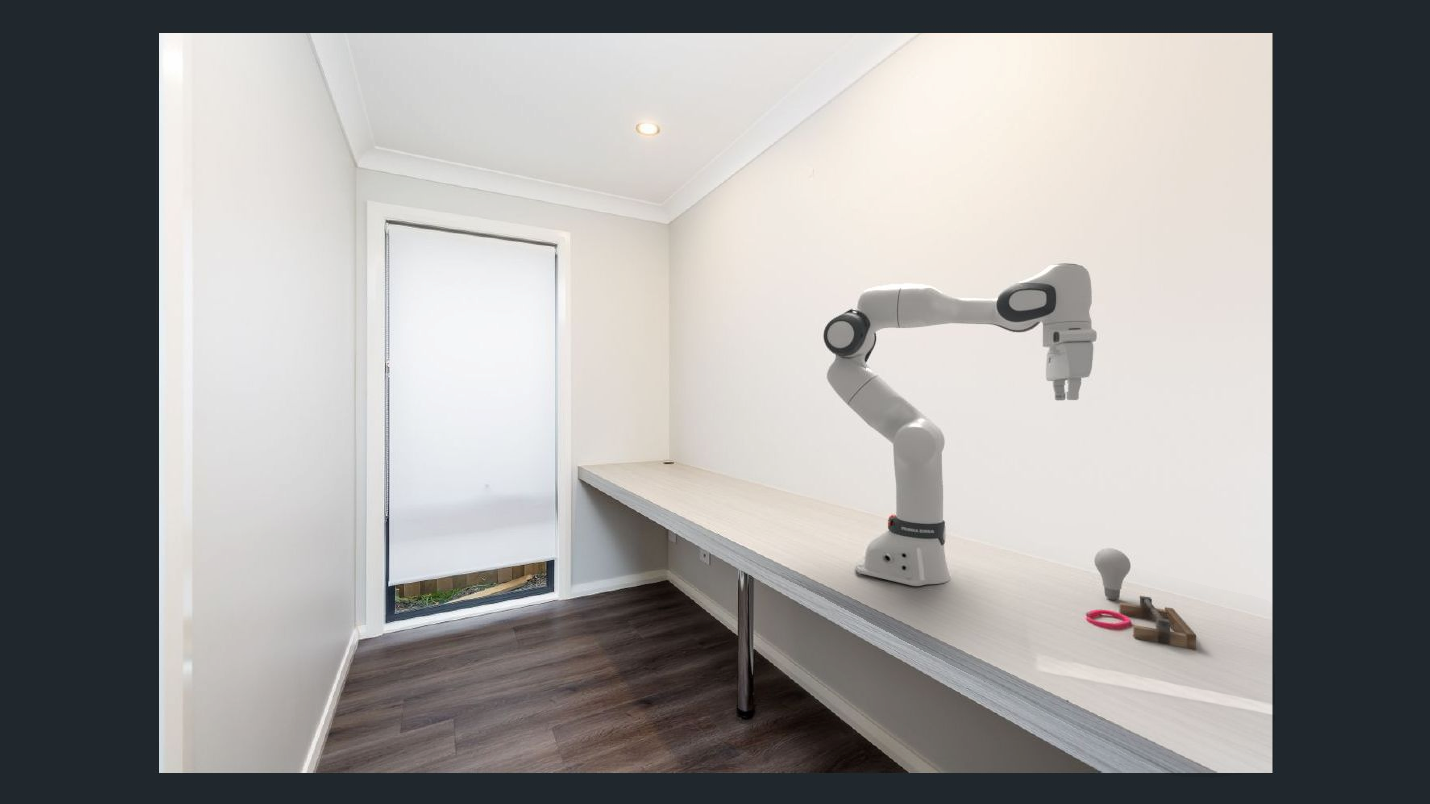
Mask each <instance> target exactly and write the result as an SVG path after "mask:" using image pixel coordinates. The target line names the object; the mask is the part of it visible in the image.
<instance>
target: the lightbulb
mask: <svg viewBox="0 0 1430 804" xmlns="http://www.w3.org/2000/svg"><path fill="white" fill-rule="evenodd" d="M1129 559H1130V558H1129V557H1128V556H1127V555H1126V554H1125V553H1124V552H1122V551H1121V550H1118V549H1116V548H1111V547H1107V548H1106V547H1105V548H1103V549H1101V550H1099V551H1098V552H1096V554H1095V556H1094V559H1093V560H1094V561H1093V562H1094V566H1095V567H1096V570H1097V571H1098V573H1100V577H1101V580H1102V585H1103V587H1104V588H1103V589H1104V596H1105V597H1107V598H1108V599H1109V600H1110V601H1116V600H1118V599H1120V597H1121V590H1122V586H1123V582H1124V579H1125V578H1126V577H1127V575H1129V572H1130V570H1131V562H1130V561H1131V560H1129Z"/></svg>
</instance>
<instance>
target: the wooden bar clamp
mask: <svg viewBox="0 0 1430 804" xmlns="http://www.w3.org/2000/svg"><path fill="white" fill-rule="evenodd" d="M1152 602H1153V601H1152V598H1151V597H1149V596H1144V595H1139V605H1137V604H1131V603H1124V602H1119V604H1118V605H1119V611H1118V613H1120V614H1123V615H1125V616H1127V617H1132V618H1139V619H1144V620H1152V621H1155V623H1156V624H1155V627H1154V628H1153V627H1149V626H1143V625H1138V624H1137V625H1136V624H1132V625H1133V626H1132V627H1133V629H1132V630H1133V631H1132V632H1133V633H1132V635H1133V638H1134V639H1135V640H1142V641H1147V642H1152V643H1158V644H1164V645H1168V646H1175V647H1179V648H1185V649H1189V650H1194V651H1195V650H1197V635H1196V633H1195V632H1194V631H1193V629H1191V628H1190V626H1189V625H1188V624H1187V622H1186V621H1185V620H1184V619H1183V618H1182V617H1181V616H1180V615H1179V614H1178V613H1177V612H1176V610H1175V609H1174V608H1172V607H1167V606H1164V609H1163V608H1158V607H1155V606H1154V604H1153V603H1152ZM1171 630H1172V631H1171Z"/></svg>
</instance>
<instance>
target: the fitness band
mask: <svg viewBox="0 0 1430 804" xmlns="http://www.w3.org/2000/svg"><path fill="white" fill-rule="evenodd" d="M1103 615H1108V616H1111V617H1114V618H1117V619H1119V620H1120V622H1115V623H1113V622H1105V621H1099V620H1095V619H1096V618H1099V617H1102V616H1103ZM1085 616H1086V617H1085V620H1086V621H1087V622H1088V623H1089V624H1091V625H1093V626H1096V627H1100V628H1103V629H1108V630H1117V631H1118V630H1123V629H1127V628H1129V627H1131V625H1132V620H1131V618H1130V617H1129V616H1126V615H1123V614H1120V613H1119V612H1116V611H1114V610H1108V609H1094V610H1090V611H1086V612H1085Z"/></svg>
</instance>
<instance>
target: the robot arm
mask: <svg viewBox="0 0 1430 804" xmlns="http://www.w3.org/2000/svg"><path fill="white" fill-rule="evenodd" d="M1092 295H1093V293H1092V281H1091V275H1090V272H1089V271H1088V269H1087V268H1086V267H1084V266H1082V265H1081V264H1080V265H1079V264H1075V263H1058V264H1057V263H1055V264H1052V265H1049V266H1047V267H1046V269H1044V270H1042V271H1041V272H1040V273H1037V274H1035V275H1034V276H1032V277H1029V278H1027V279H1024V280H1022V281H1019V282H1015V283H1013V284H1009V285H1008V286H1006V287H1005V288H1004V289H1002V291H1001V292H1000V293H998V297H997V298H960V297H954V296H952V295H949V294H945V293H944V292H942V291H940V290H938V289H937V288H935V287H933V286H931V285H925V284H918V283H917V284H916V283H903V284H889V285H883V286H876V287H872V288H868V289H866V290H864V291H863V292H862V293H861V295H860V296H859V298H858V302H857V308H850V309H848V310H846V311H845V312H843V313H842V314H839V315H838V316H836V317H834V318H833V319H831V320H829V322H827V324H826V326H825V327H824V330H823V335H822V337H823V341H824V344H825V346H826V348H827V349H828V350H829V351H830V352H831V353H832V354H834V355H835V358H834V361H833V362H832V363H831V365H830V366H829V368H828V370H827V373H826V379H827V382H828V383H829V385H830V386H831V388H832V390H834V392H835V393H836V394H837V396H838V397H839V398H841V399H842V401H843V402H844V403H845V404H846V405H847V406H848V407H849V408H850V409H851V410H852V411H854V412H855V413H856V415H857V416H858V417H860V418H861V419H862V420H863V421H864V422H865V423H866V424H867V425H868V426H869V427H870V428H873V430H875V431H876V432H877V433H879V434H880V435H881V436H883V437H884V438H885V439H886V440H888V441H889V442H890V443H891V444H892V447H893V449H892V450H893V465H894V466H893V467H894V477H895V478H894V479H895V485H896V486H895V487H896V488H895V489H896V490H895V491H896V492H895V493H896V494H895V495H896V496H895V499H896V502H895V503H896V504H895V505H896V508H895V513H896V514H890V515H889V517H888V520H887V529H888V530H887V531H885V532H884V533H882V534H880V535H879V536H877V537H875V538H874V539H873V540H871V541H870V543H868V545H867V547H866V551H865V556H864V557H862V558H860V559H859V560H857V562H856V565H855V570H856V572H857V573H859V574H862V575H866V576H870V577H874V578H879V579H884V580H886V581H887V580H888V581H892V582H896V583H900V584H904V585H909V586H912V587H920V586H925V585H937V584H938V585H939V584H944V583H947V582H949V581H950V580H951V576H950V572H949V569H948V564H947V559H946V558H947V557H946V551H945V543H946V538H947V537H946V521H945V520H944V485H943V483H944V482H943V480H944V479H943V455H942V453H943V450H944V447H945V441H946V440H945V436H944V433H943V432H942V430H941V428H939V427H938V426H937V425H936V424H935V423H934V422H933V421H932V420H930V418H928V417H927V416H925V414H924V413H923V412H920V410H919V409H917V408H916V407H915V406H913V405H912V404H911V402H909V401H908V400H907V399H905V398H904V397H902V396H901V395H900V394H899V393H898V392H897V391H895V389H894V388H892V386H890V385H889V384H888V383H887V382H886V381H885V380H883V379H882V378H881V377H880V376H879V375H878V374H877V373H876V372H874V371H873V370H872V369H871V368H870V367H869V366H868V365H867V362H868V360H869V358H870V356H871V354H872V352H873V350H874V348H875V345H876V343H877V333H876V332H878V331H879V330H882V329H891V328H892V329H895V328H896V329H911V328H925V327H930V326H937V325H938V326H939V325H948V324H967V325H969V324H971V325H972V324H973V325H974V324H975V325H992V326H997V327H998V328H999V327H1000V328H1001V329H1003V330H1006V331H1009V332H1012V333H1026V332H1028V331H1031V330H1033V329H1034V328H1036V327H1038V325H1039V324H1041V323H1042V347H1043V348H1048V349H1049V350H1048V351H1047V353H1046V362H1045V364H1046V365H1045V379H1046V381H1047V382H1052V387H1053V388H1052V389H1053V393H1054V400H1055V401H1065V400H1068V401H1078V400H1079V398H1080V396H1079V395H1080V393H1079V392H1080V389H1081V385H1082V379H1084V378H1089V377H1090V375H1091V373H1092V369H1093V360H1094V359H1093V358H1094V342H1096V341H1097V339H1098V338H1097V335H1098V334H1097V331H1096V330H1095V329H1093V328H1092V318H1091V315H1090V309H1091V306H1092V301H1093V300H1092V299H1093V296H1092ZM1066 381H1067V383H1066ZM1066 384H1067V391H1066V392H1065V386H1066Z"/></svg>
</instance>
